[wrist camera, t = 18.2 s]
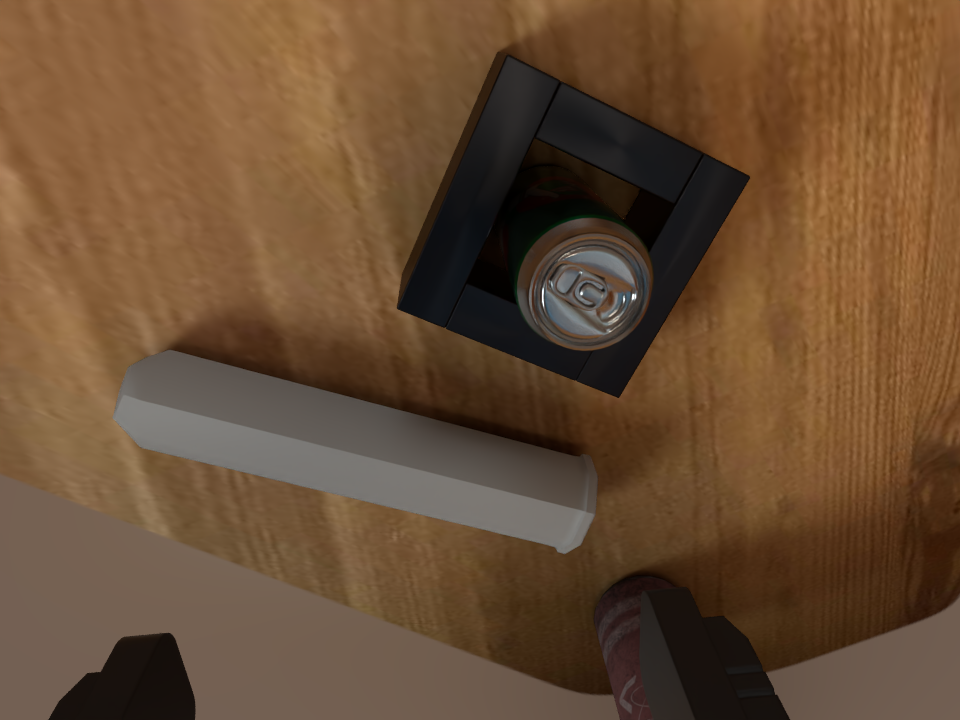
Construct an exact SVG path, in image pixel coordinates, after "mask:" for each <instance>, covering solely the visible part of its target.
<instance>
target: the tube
mask: <svg viewBox="0 0 960 720" xmlns="http://www.w3.org/2000/svg"><path fill="white" fill-rule="evenodd" d="M113 419H114V420H115V421H116V422H117V423H118V424H119V425H120V426H121V427H122V428H123V429H124V430H125V431H126V432H127V434H128V435H129V436H130V437H131V438H132V439H133V440H134V441H135V442H136V443H137V444H138V445H139V446H140V447H141V448H145V449H149V450H153V451H157V452H161V453H166V454H170V455H174V456H178V457H182V458H186V459H191V460H195V461H199V462H203V463H207V464H212V465H216V466H220V467H224V468H228V469H232V470H237V471H241V472H245V473H249V474H253V475H258V476H262V477H266V478H270V479H274V480H278V481H283V482H287V483H291V484H295V485H299V486H303V487H308V488H312V489H316V490H320V491H324V492H329V493H333V494H337V495H341V496H345V497H349V498H354V499H358V500H362V501H366V502H370V503H375V504H379V505H383V506H387V507H391V508H395V509H400V510H404V511H408V512H412V513H416V514H421V515H425V516H429V517H433V518H437V519H441V520H446V521H450V522H454V523H458V524H462V525H466V526H471V527H475V528H479V529H483V530H487V531H492V532H496V533H500V534H504V535H508V536H512V537H517V538H521V539H525V540H529V541H533V542H538V543H542V544H546V545H550V546H553V547H556V549H557V552H560V553H564V554H565V553H567V552H569V551H571V550H573V549H574V548H576V547H578V546H580V545H581V544H582V542H583V539H584V537H585V535H586V533H587V531H588V529H589V527H590V525H591V523H592V521H593V518H594V516H595V513H596V500H597V486H598V476H597V473H596V470H595V467H594V464H593V461H592V458H591V456H590V455H586V454H582V455H580V456H579V457H578V456H572V455H568V454H564V453H561V452H557V451H553V450H549V449H545V448H542V447H538V446H534V445H530V444H526V443H523V442H519V441H515V440H511V439H507V438H504V437H500V436H496V435H492V434H489V433H485V432H481V431H477V430H473V429H470V428H466V427H462V426H458V425H454V424H451V423H447V422H443V421H439V420H435V419H432V418H428V417H424V416H420V415H416V414H413V413H409V412H405V411H401V410H397V409H394V408H390V407H386V406H382V405H378V404H375V403H371V402H367V401H363V400H359V399H356V398H352V397H348V396H344V395H340V394H337V393H333V392H329V391H325V390H321V389H318V388H314V387H310V386H306V385H302V384H299V383H295V382H291V381H287V380H283V379H280V378H276V377H272V376H268V375H264V374H261V373H257V372H253V371H249V370H245V369H242V368H238V367H234V366H230V365H226V364H223V363H219V362H215V361H211V360H207V359H204V358H200V357H196V356H192V355H188V354H185V353H181V352H177V351H173V350H167V351H164V352H161V353H158V354H155V355H152V356H149V357H146V358H144V359H142V360H140V361H138V362H137V363H135V364H133V365H131V366H129V367H128V369H127V372H126V374H125V377H124V380H123V382H122V385H121V388H120V391H119V395H118V399H117V403H116V407H115V411H114V415H113Z"/></svg>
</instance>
